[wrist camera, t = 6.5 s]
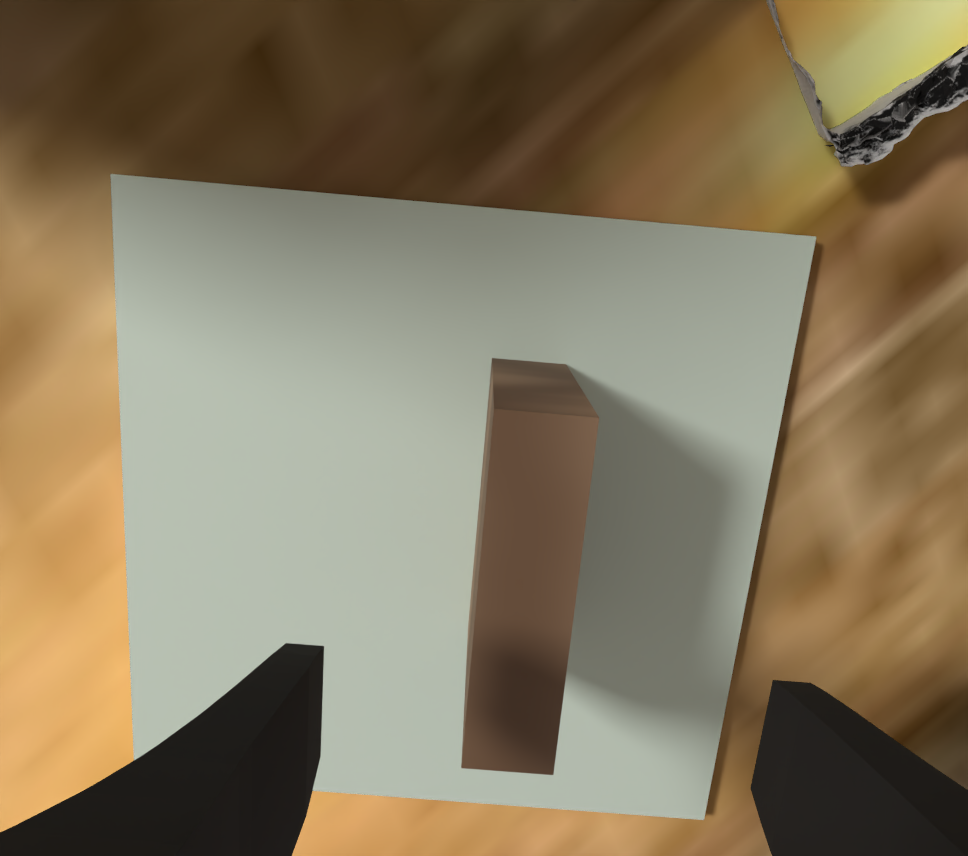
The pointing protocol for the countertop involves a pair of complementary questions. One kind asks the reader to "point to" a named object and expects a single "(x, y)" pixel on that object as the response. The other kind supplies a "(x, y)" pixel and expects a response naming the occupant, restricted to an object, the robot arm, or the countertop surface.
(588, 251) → the mat
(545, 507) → the walnut slab
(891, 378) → the countertop surface
